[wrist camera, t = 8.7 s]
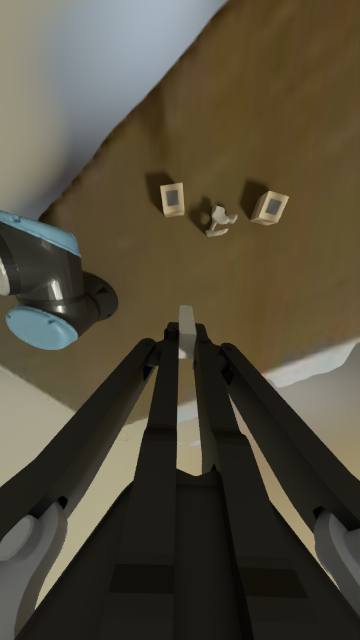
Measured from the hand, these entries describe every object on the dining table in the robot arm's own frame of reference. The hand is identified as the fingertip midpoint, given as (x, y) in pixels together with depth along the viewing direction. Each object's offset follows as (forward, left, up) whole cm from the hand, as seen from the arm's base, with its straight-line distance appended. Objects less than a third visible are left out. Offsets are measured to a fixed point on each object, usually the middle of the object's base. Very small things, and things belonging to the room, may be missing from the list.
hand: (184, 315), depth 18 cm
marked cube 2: (-4, +18, -31) cm, 36 cm away
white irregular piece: (+8, +15, -31) cm, 35 cm away
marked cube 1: (+20, +18, -31) cm, 41 cm away
